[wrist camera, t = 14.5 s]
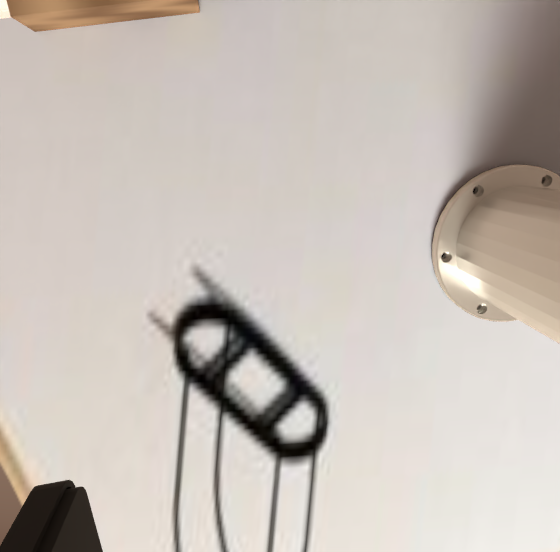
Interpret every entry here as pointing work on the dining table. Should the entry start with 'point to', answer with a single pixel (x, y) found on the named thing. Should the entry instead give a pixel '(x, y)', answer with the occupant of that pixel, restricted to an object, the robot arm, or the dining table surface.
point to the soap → (4, 9)
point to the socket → (92, 11)
